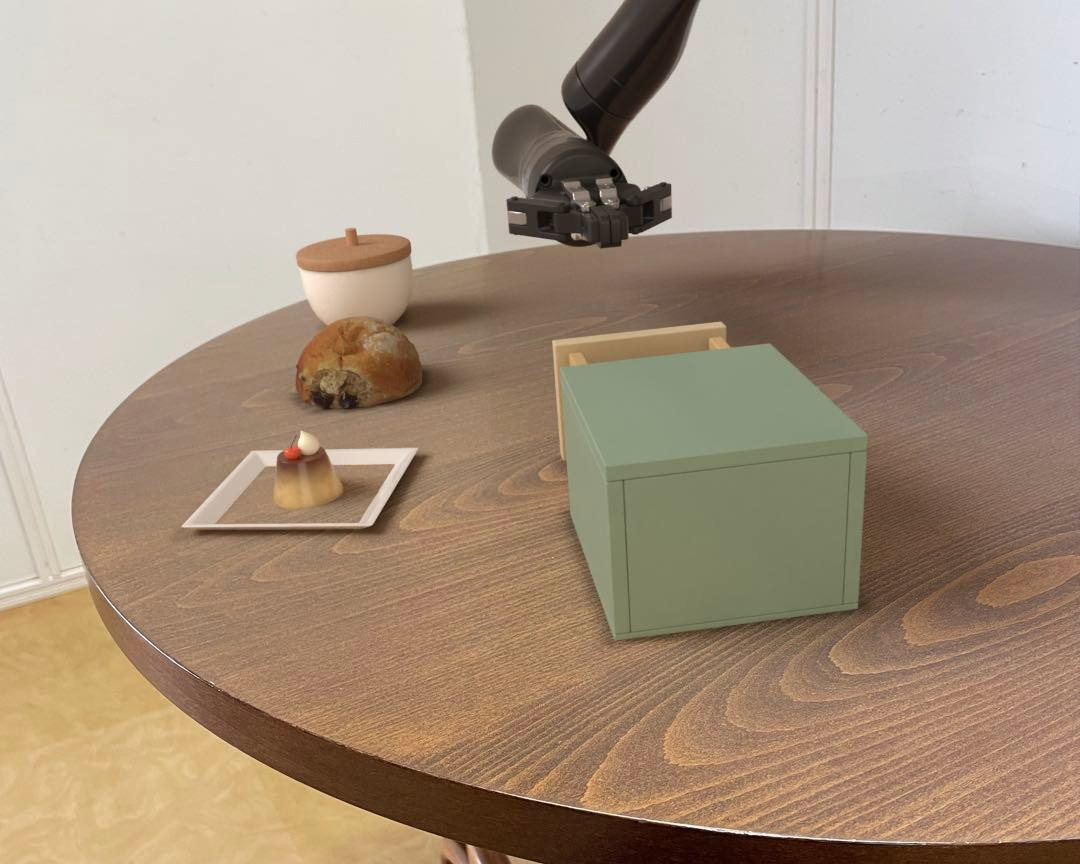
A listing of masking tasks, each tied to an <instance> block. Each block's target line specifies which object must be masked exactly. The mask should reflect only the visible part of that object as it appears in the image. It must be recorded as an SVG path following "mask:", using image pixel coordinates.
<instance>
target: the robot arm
mask: <svg viewBox="0 0 1080 864" xmlns="http://www.w3.org/2000/svg"><path fill="white" fill-rule="evenodd" d="M701 1H702V0H623V1H622V2H621V4H620V6H619V7H618V9H617V10H616V11H615V12H614V14H613V15H612V16H611V18H610V19H609V21H608V22H607V23H606V24H605V25H604V27H603V28H602V29H601V30H600V31H599V33H598V34H597V35H596V36H595V38H593V40H592V42H591V43H590V44H589V45H588V47H586V49H585V50H584V51H583V53H582V54H581V55H580V57H578V59H577V60H576V62H575V63H574V64H573V65H572V67H571V68H570V69H569V70H568V72H567V73H566V75H565V76H564V78H563V80H562V83H561V86H560V96H561V100H562V102H563V104H564V106H565V108H566V110H567V111H568V113H569V114H570V116H571V117H572V118H573V120H574V121H575V122H576V123H577V124H578V126H579V128H580V129H581V130H582V131H583V133H584V135H585V137H586V138H584V137H583V136H581V135H580V134H579V133H577V132H576V131H575V130H573V129H572V128H570V127H569V126H568V125H567V124H566V123H564V122H563V121H562V120H560V119H558V117H556V116H555V115H553V113H551V112H549V111H548V110H547V109H545V107H542V106H540V105H537V104H533V103H532V104H531V103H530V104H529V103H528V104H524V105H522V106H518V107H517V108H515V109H514V110H511V112H509V113H508V114H507V115H506V116H505V117H504V119H502V120H501V122H500V124H499V125H498V127H497V129H496V131H495V133H494V136H493V139H492V142H491V150H490V151H491V160H492V164H493V167H494V169H495V170H496V171H497V173H498V174H500V175H501V176H502V177H503V178H505V179H506V180H507V181H508V182H510V183H511V184H512V185H513V186H515V187H516V188H518V189H519V191H521V192H522V193H523V194H524V196H525V197H519V196H517V195H516V196H511V197H510V198H507V199H506V200H505V201H506V211H507V223H508V224H507V225H508V234H510V235H514V236H522V237H530V238H536V239H542V240H543V239H544V240H551V241H556V242H558V243H559V244H562V245H564V246H567V247H573V248H585V247H591V246H594V245H596V246H597V247H598V248H599V249H602V250H603V249H610V248H611V249H612V248H620V247H622V244H623V243H622V242H623V241H627V240H628V239H629V237H630V235H629V234H631V235H635V236H636V235H637V236H638V235H639V234H642V233H645V232H646V231H648V230H650V229H653V228H654V227H656V226H659V225H660V224H662V223H665V222H667V221H668V220H671V219H672V218H673V208H672V207H673V194H672V184H671V183H667V182H666V181H661V182H659V183H657V184H653V185H652V186H645V187H644V188H643V190H641V187H640V186H639V185H637V184H635V183H629V182H628V180H627V177H626V175H625V173H624V171H623V169H622V168H621V167H620V165H619V164H618V163H617V162H616V160H614V159H613V158H612V157H611V155H612V154H613V153H612V152H613V151H614V149H615V147H616V145H617V143H619V140H620V139H621V137H622V136H623V135H624V133H625V131H626V129H628V128H629V126H630V125H631V123H632V122H633V121H634V120H635V119H636V117H637V116H638V115H639V114H641V112H642V111H643V109H645V108H646V106H647V105H648V104H649V103H650V101H652V99H654V97H656V95H657V94H658V93H659V91H660V90H661V89H662V88H663V87H664V86H665V84H666V83H667V81H668V80H669V79H670V78H671V76H672V75H673V73H674V72H675V70H676V68H677V66H678V65H679V63H680V62H681V60H682V57H683V56H684V53H685V50H686V48H687V45H688V41H689V38H690V35H691V32H692V28H693V24H694V21H695V17H696V15H697V12H698V9H699V6H700V3H701Z"/></svg>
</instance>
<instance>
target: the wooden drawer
mask: <svg viewBox="0 0 1080 864" xmlns="http://www.w3.org/2000/svg"><path fill="white" fill-rule="evenodd" d="M551 345H552V357H553V358H552V359H553V371H554V373H553V374H554V384H555V397H556V398H555V399H556V411H557V426H558V441H559V452H560V456H561V459H562V461H563V462H565V461H566V447H565V433H564V419H563V405H562V391H561V378H560V367H566V366H574V365H583V364H592V363H601V362H610V361H619V360H628V359H636V358H645V357H654V356H663V355H672V354H681V353H689V352H698V351H707V350H716V349H725V348H732V346H731V345H730V344H728V342H727V325H726V324H725V323H723V321H716V322H715V321H714V322H713V321H712V322H705V323H695V324H686V325H677V326H669V327H659V328H651V329H642V330H633V331H625V332H615V333H604V334H598V335H596V334H595V335H588V336H579V337H570V338H569V337H568V338H560V339H553V340H552V341H551ZM566 462H567V461H566Z"/></svg>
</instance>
